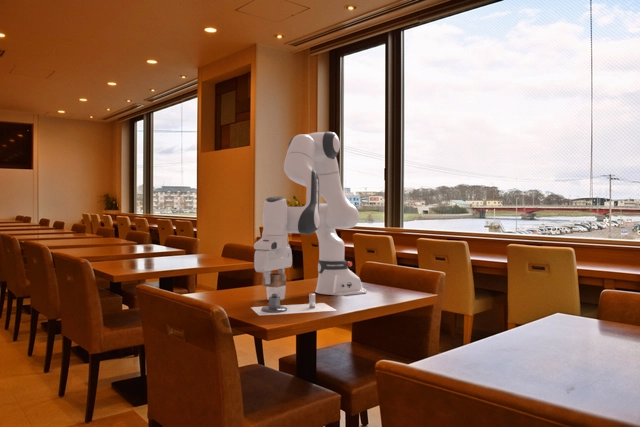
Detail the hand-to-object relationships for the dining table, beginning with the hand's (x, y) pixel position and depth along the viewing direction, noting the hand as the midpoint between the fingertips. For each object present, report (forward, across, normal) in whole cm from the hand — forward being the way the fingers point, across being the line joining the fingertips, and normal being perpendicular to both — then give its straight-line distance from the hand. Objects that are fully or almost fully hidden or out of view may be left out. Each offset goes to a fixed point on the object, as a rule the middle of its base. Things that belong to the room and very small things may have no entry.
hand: (274, 282), depth 180 cm
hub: (+10, 0, 0) cm, 10 cm away
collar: (+1, 0, 0) cm, 1 cm away
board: (+11, -5, +5) cm, 13 cm away
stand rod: (+10, -10, +10) cm, 17 cm away
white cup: (+11, -19, -10) cm, 25 cm away
